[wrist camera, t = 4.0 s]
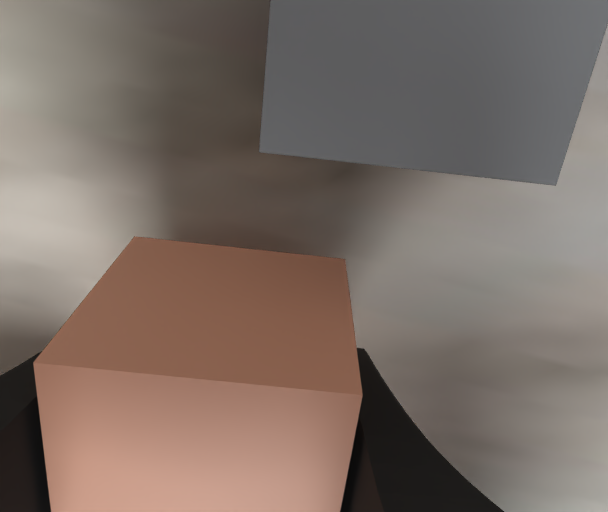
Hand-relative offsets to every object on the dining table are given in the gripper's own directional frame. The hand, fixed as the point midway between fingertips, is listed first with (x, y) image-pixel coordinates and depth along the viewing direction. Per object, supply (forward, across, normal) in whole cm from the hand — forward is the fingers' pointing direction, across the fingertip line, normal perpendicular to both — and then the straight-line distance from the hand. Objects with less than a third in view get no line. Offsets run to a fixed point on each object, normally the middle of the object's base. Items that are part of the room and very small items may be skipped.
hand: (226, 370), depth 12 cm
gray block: (+4, -3, -8) cm, 9 cm away
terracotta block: (+1, 0, 0) cm, 1 cm away
